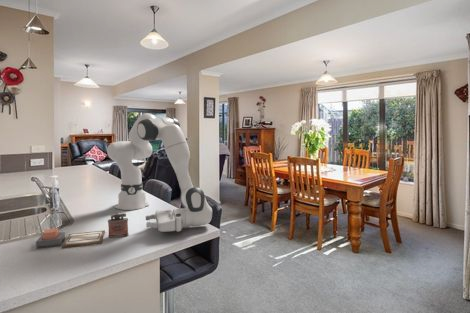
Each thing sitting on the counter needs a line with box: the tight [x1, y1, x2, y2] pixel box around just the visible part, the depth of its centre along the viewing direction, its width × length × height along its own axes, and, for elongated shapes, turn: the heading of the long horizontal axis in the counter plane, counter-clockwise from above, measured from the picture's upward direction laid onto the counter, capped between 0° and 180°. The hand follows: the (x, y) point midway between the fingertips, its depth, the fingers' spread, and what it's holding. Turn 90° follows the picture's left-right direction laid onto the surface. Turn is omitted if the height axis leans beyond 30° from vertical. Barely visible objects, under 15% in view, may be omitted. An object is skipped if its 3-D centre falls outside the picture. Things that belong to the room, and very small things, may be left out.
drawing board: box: [61, 230, 106, 249], centre depth 117 cm, size 13×14×1 cm
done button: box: [42, 227, 60, 239], centre depth 113 cm, size 4×4×3 cm
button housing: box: [35, 231, 66, 250], centre depth 113 cm, size 8×8×3 cm
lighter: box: [107, 212, 129, 239], centre depth 121 cm, size 8×3×10 cm, turn 105°
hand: (145, 221), depth 125 cm, fingers open, 8 cm apart
